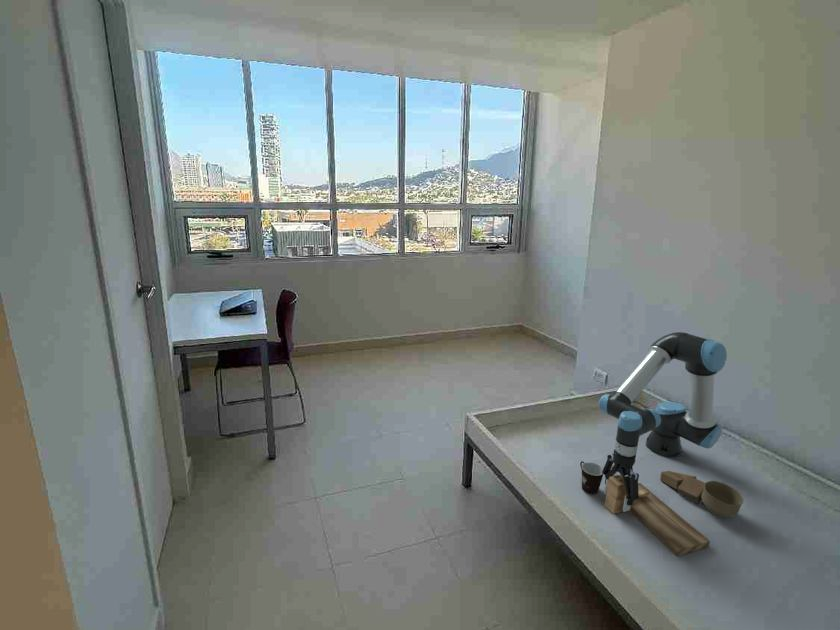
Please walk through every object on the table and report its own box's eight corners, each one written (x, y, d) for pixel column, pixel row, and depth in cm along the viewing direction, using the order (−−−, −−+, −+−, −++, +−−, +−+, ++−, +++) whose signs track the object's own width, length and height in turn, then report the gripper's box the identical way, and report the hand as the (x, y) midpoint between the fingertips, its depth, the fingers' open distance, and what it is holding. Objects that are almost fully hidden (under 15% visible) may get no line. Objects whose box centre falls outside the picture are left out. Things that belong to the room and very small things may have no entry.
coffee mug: (602, 497, 174) (606, 476, 171) (580, 494, 176) (583, 473, 173) (597, 479, 185) (600, 459, 182) (576, 476, 187) (579, 456, 184)
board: (639, 487, 180) (640, 482, 179) (708, 546, 151) (710, 540, 150) (611, 494, 176) (612, 489, 175) (677, 556, 147) (678, 550, 146)
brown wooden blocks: (677, 480, 190) (717, 501, 173) (654, 483, 185) (694, 505, 169) (679, 463, 189) (720, 484, 173) (657, 466, 185) (696, 487, 168)
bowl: (726, 530, 158) (732, 507, 155) (691, 507, 169) (696, 486, 166) (745, 518, 164) (751, 496, 161) (710, 497, 175) (715, 476, 172)
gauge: (640, 496, 175) (645, 467, 171) (650, 504, 170) (655, 475, 166) (604, 505, 170) (609, 475, 166) (613, 513, 165) (618, 483, 162)
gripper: (596, 437, 170) (589, 485, 177) (639, 471, 150) (629, 524, 156) (612, 434, 172) (605, 481, 179) (656, 467, 152) (646, 519, 159)
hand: (616, 501), depth 168 cm, fingers open, 9 cm apart
